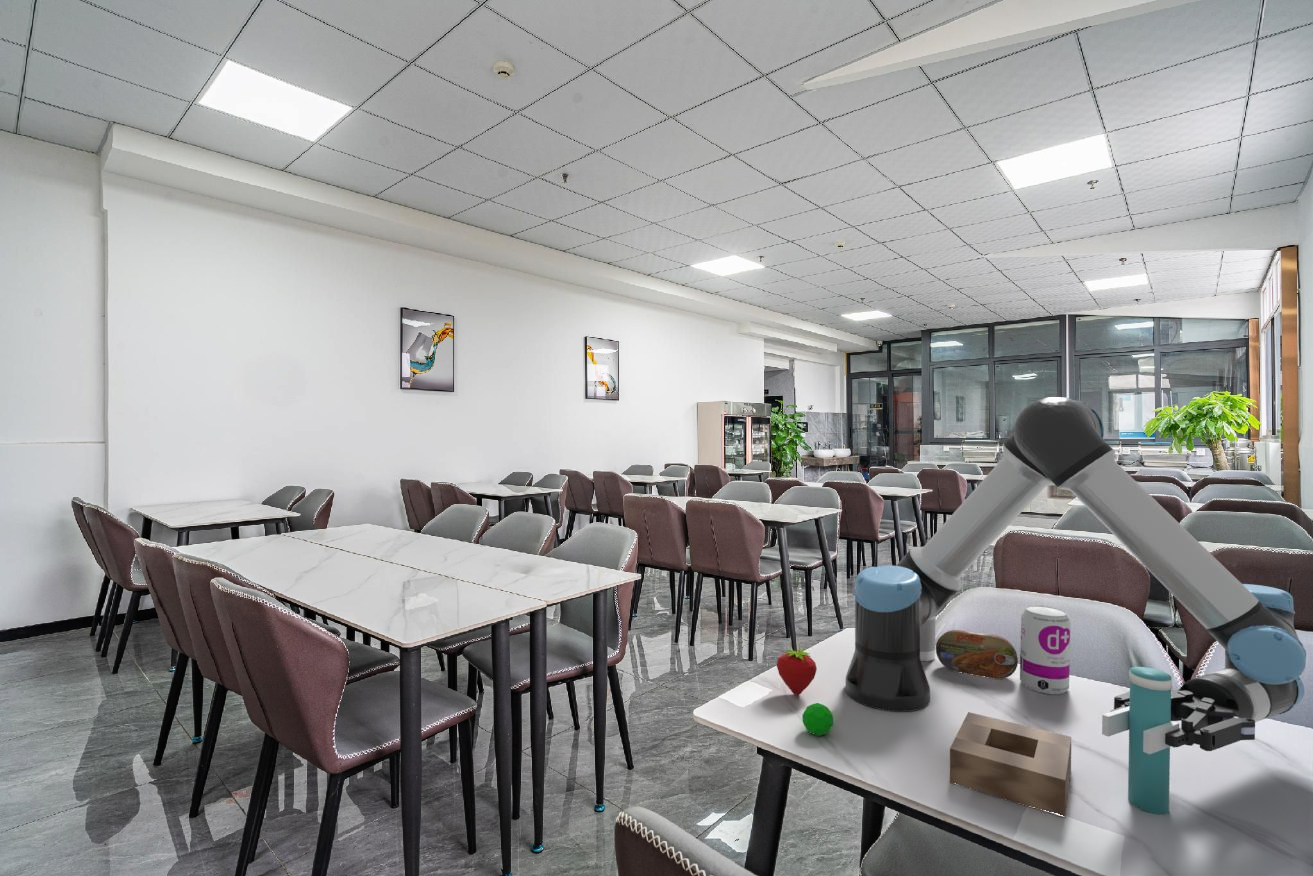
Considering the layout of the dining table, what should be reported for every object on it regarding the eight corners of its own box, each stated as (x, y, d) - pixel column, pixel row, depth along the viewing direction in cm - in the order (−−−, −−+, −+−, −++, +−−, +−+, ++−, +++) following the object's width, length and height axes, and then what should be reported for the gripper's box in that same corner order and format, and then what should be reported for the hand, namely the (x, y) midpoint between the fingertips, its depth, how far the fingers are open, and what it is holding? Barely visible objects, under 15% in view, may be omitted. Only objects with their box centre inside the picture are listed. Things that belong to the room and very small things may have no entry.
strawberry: (780, 685, 126) (780, 635, 125) (819, 691, 123) (819, 640, 122) (773, 697, 120) (773, 644, 120) (813, 704, 117) (814, 650, 117)
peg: (1127, 806, 86) (1129, 674, 85) (1126, 790, 90) (1128, 664, 89) (1171, 819, 83) (1173, 683, 83) (1168, 801, 87) (1171, 671, 87)
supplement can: (1077, 697, 120) (1079, 618, 119) (1031, 694, 121) (1032, 616, 120) (1056, 679, 128) (1058, 605, 127) (1012, 677, 129) (1014, 603, 129)
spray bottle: (920, 664, 136) (921, 580, 136) (895, 653, 142) (895, 573, 142) (942, 658, 139) (942, 576, 139) (916, 648, 146) (916, 570, 145)
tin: (935, 668, 134) (935, 628, 134) (937, 663, 137) (937, 624, 137) (1017, 683, 126) (1017, 641, 126) (1018, 678, 129) (1018, 636, 129)
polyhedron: (797, 733, 106) (797, 705, 106) (811, 723, 110) (811, 696, 110) (824, 744, 103) (824, 714, 103) (838, 732, 107) (838, 704, 107)
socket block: (949, 782, 92) (949, 748, 92) (967, 742, 103) (968, 712, 103) (1064, 817, 84) (1065, 780, 84) (1070, 769, 95) (1071, 736, 95)
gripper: (1300, 754, 86) (1203, 797, 76) (1155, 702, 102) (1059, 732, 92) (1301, 699, 86) (1204, 735, 76) (1156, 655, 101) (1060, 681, 92)
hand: (1125, 733), depth 84 cm, fingers closed on peg, 4 cm apart
